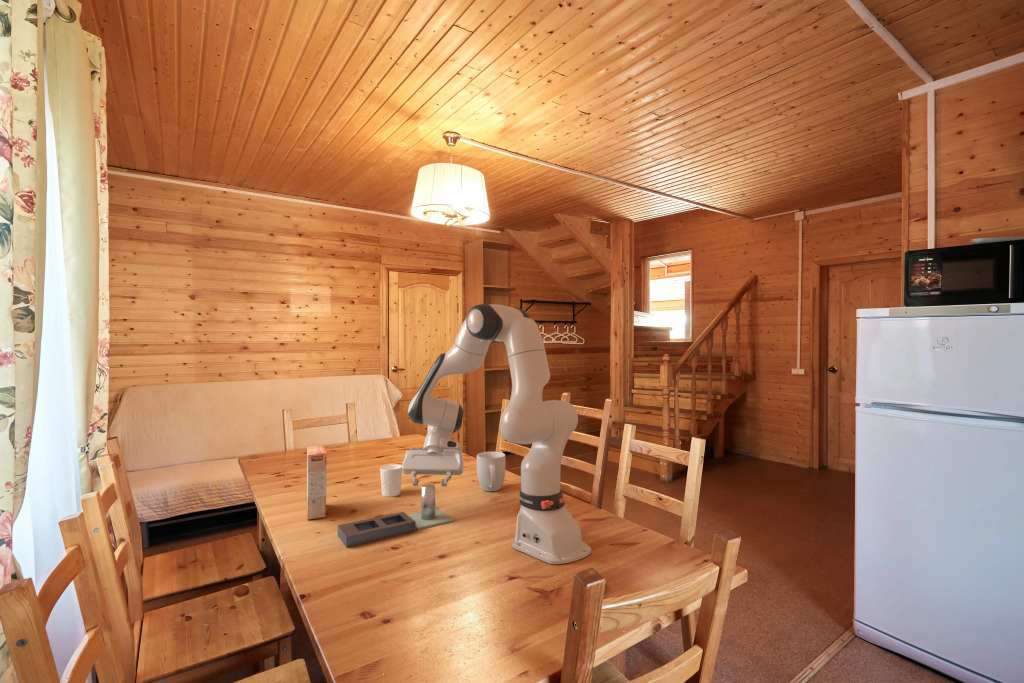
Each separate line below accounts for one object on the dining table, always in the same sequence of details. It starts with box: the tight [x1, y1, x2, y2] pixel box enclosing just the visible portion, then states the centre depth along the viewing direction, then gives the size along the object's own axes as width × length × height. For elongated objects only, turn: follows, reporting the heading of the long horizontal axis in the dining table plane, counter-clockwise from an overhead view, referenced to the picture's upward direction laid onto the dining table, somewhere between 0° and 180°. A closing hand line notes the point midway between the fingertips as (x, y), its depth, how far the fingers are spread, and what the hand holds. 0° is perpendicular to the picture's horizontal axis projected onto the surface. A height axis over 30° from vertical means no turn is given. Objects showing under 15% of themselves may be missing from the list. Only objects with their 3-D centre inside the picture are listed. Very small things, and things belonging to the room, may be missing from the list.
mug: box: [476, 451, 507, 493], centre depth 183 cm, size 15×11×13 cm
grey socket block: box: [337, 511, 417, 548], centre depth 144 cm, size 10×20×3 cm, turn 123°
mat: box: [407, 508, 455, 531], centre depth 154 cm, size 12×12×1 cm
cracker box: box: [306, 445, 327, 520], centre depth 162 cm, size 14×6×21 cm, turn 23°
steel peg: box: [420, 483, 436, 520], centre depth 154 cm, size 4×4×10 cm
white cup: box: [379, 463, 403, 497], centre depth 181 cm, size 8×8×10 cm
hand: (429, 485), depth 156 cm, fingers open, 8 cm apart
